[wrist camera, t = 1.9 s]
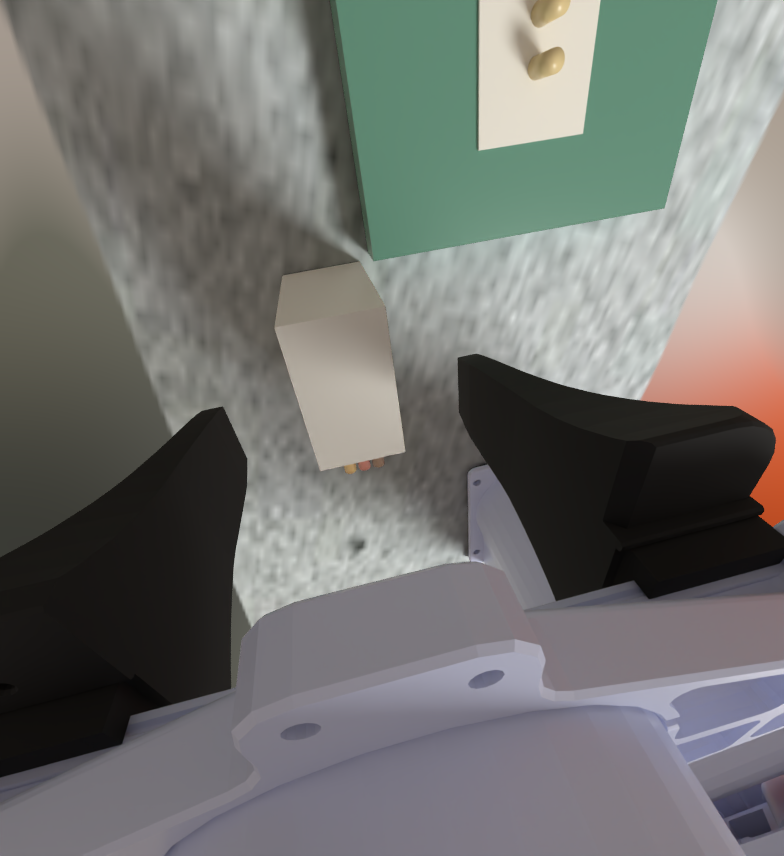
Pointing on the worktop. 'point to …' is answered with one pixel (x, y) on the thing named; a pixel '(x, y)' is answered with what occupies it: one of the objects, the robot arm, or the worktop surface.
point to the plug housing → (341, 365)
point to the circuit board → (513, 112)
